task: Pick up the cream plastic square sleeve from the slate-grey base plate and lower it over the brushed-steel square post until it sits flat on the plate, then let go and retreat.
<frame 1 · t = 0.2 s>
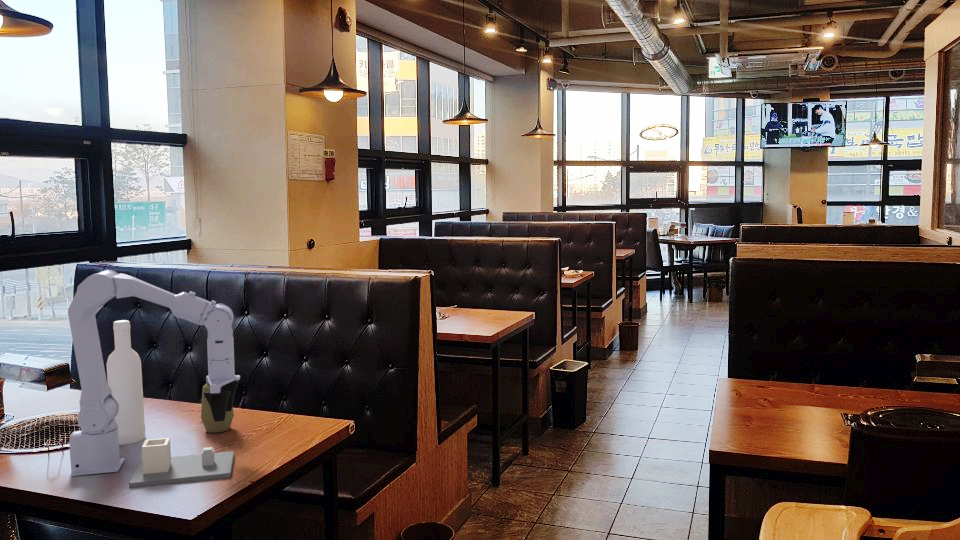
hand: (223, 415, 169), 10 cm above the table, fingers open, 7 cm apart
bottle: (128, 440, 183), on the table
sleeve: (157, 468, 160), point 1 cm above the table, touching base plate
squeeze bottle: (218, 430, 190), on the table
base plate: (184, 470, 162), on the table
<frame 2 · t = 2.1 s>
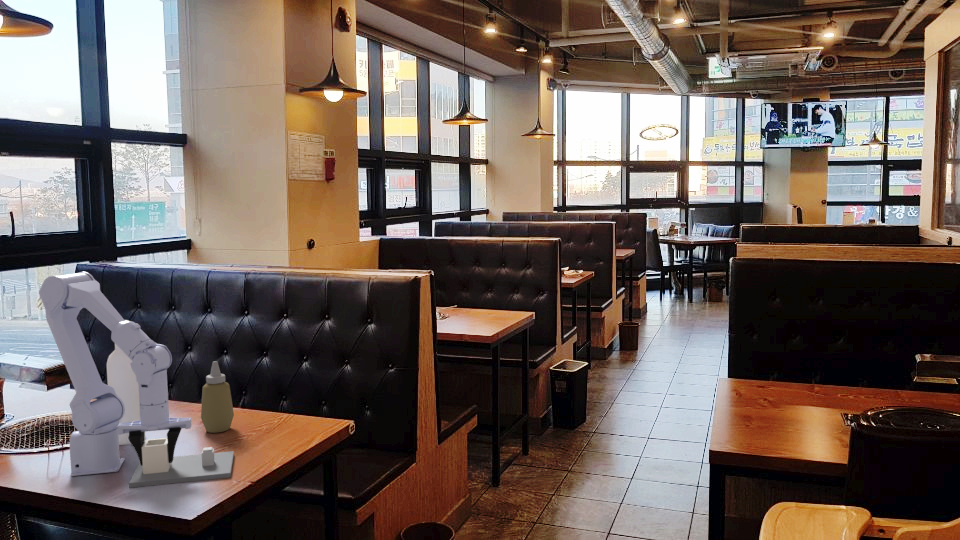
hand: (157, 462, 160), 2 cm above the table, fingers closed on sleeve, 5 cm apart
sleeve: (157, 468, 160), point 1 cm above the table, touching base plate, gripper
everything else where it was.
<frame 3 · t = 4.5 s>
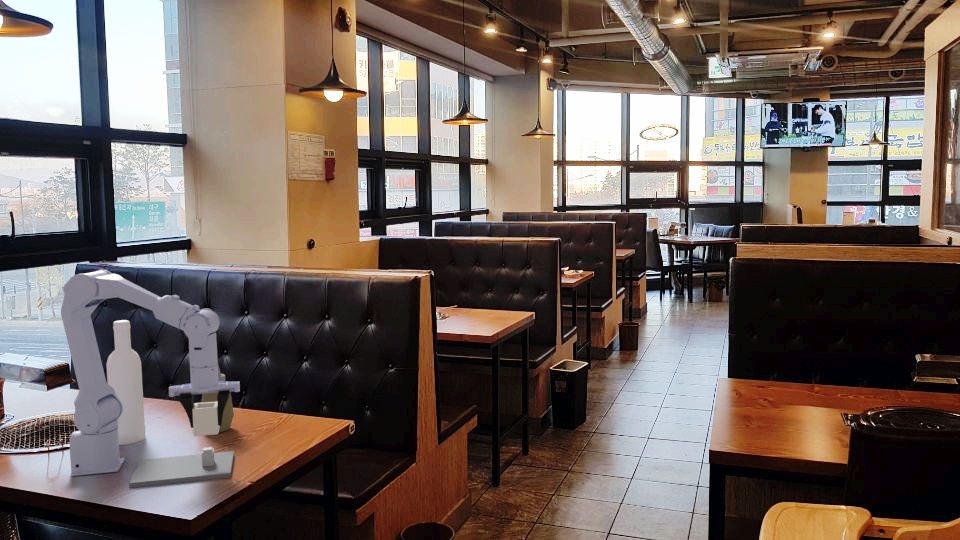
hand: (206, 425, 162), 10 cm above the table, fingers closed on sleeve, 5 cm apart
sleeve: (206, 431, 162), point 8 cm above the table, touching gripper
everything else where it was.
when the fingers open (3 cm above the table, at t = 6.8 s): sleeve stays where it is, resting on base plate.
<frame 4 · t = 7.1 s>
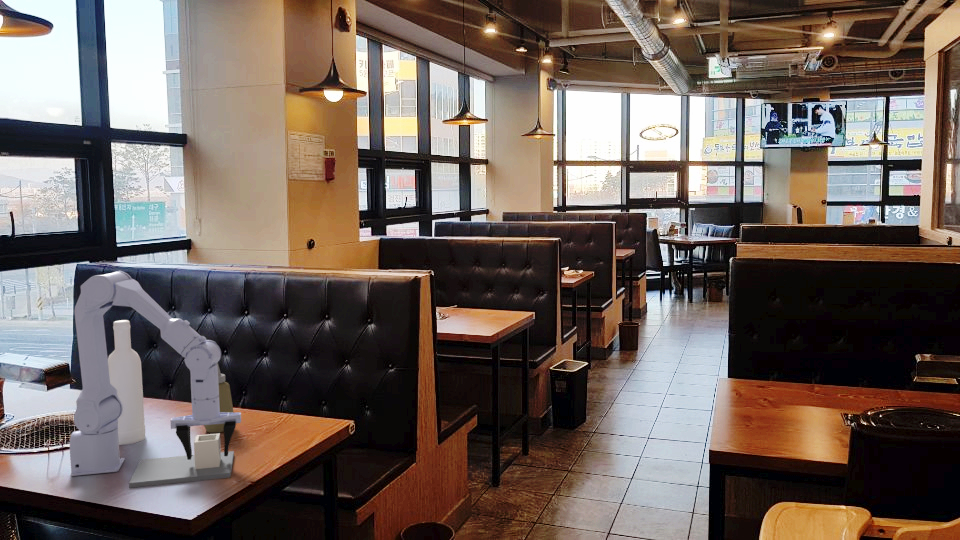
hand: (208, 456, 163), 3 cm above the table, fingers open, 7 cm apart
sleeve: (208, 463, 163), point 1 cm above the table, touching base plate
everything else where it was.
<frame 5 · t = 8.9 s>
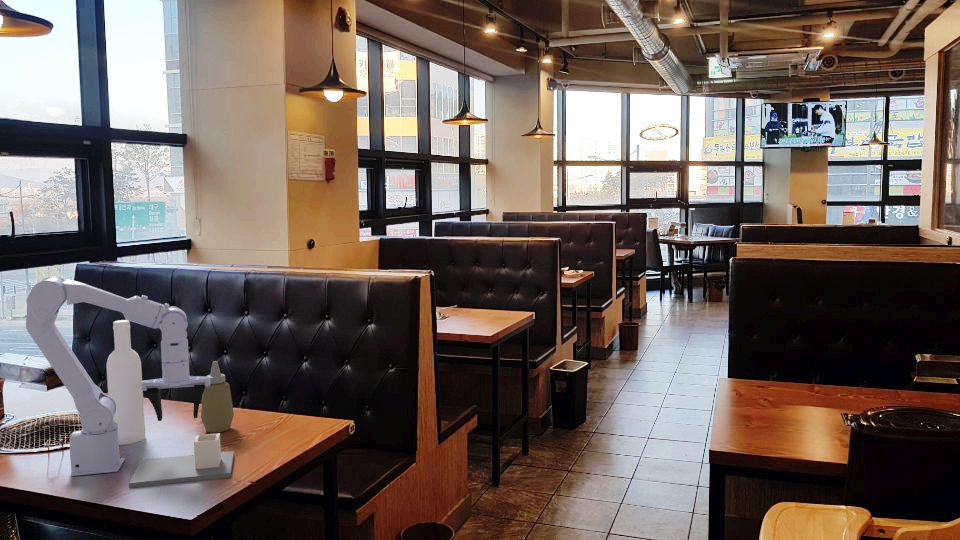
hand: (178, 418, 169), 9 cm above the table, fingers open, 7 cm apart
nothing on the table moved.
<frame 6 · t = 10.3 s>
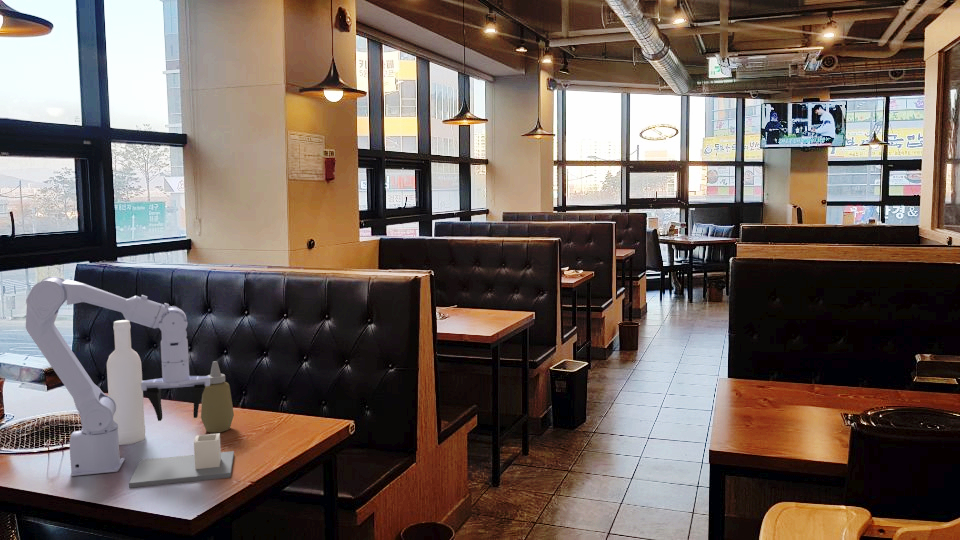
hand: (178, 418, 169), 9 cm above the table, fingers open, 7 cm apart
nothing on the table moved.
at the end: sleeve 0.1 cm from the target spot on the base plate, point 1.0 cm above the base plate's base; the gripper is holding nothing; sleeve tilted 0° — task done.
